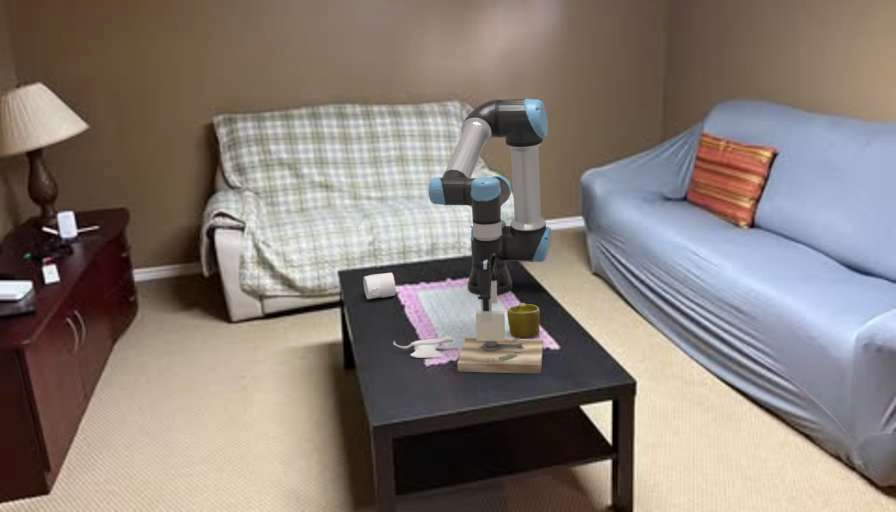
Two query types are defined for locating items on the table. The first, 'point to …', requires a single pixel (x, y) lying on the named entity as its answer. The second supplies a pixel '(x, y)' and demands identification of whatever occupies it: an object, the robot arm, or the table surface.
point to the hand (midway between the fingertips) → (489, 312)
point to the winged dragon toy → (426, 347)
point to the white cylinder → (379, 285)
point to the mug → (524, 320)
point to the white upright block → (492, 331)
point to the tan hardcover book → (502, 357)
